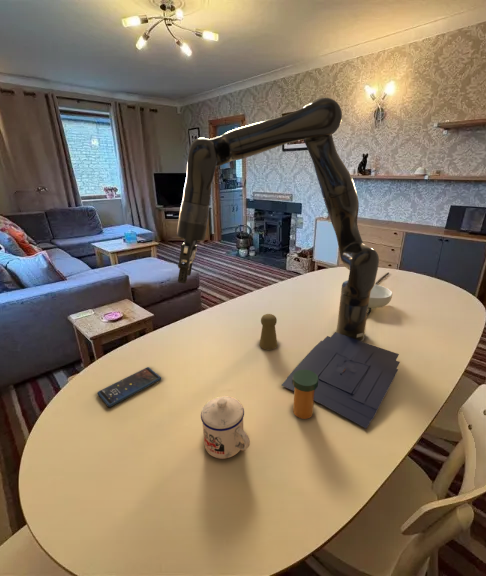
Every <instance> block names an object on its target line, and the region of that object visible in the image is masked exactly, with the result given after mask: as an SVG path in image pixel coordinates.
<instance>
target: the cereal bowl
mask: <svg viewBox="0 0 486 576" xmlns="http://www.w3.org/2000/svg"><path fill="white" fill-rule="evenodd" d="M392 298H393V291H392V290H391V289H390V288H388V287H386V286H383V285H380V284H377V285H376V283H375V284H374V287H373V288H372V290H371V293H370V299H369V306H368V310H369V308H371V310H376V309H379V308H383V307H385V306H387V305H389V304H390V302H391V301H392Z"/></svg>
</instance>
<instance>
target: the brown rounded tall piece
mask: <svg viewBox="0 0 486 576" xmlns="http://www.w3.org/2000/svg"><path fill="white" fill-rule="evenodd" d="M277 319H278V318H277V317H276V315H275V314H272V313H265V314H263V315H262V316H261V317H260V324H261V333H260V339H259V347H260V348H261V349H263V350H266V351H271V350H275V349H276V348H277V347H278V339H277V332H276V331H277V330H276V325H277V321H278V320H277Z"/></svg>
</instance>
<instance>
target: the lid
mask: <svg viewBox="0 0 486 576" xmlns="http://www.w3.org/2000/svg"><path fill="white" fill-rule="evenodd" d="M292 384H293V385H294V387H295V388H296V389H298V390H300V391H304V392H310V391H313V390H315V389H316V388H317V387H318V376H317V375H316V374H315V373H314V372H312V371H310V370H298V371H296V372H295V373H294V374H293V381H292Z"/></svg>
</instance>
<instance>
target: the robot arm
mask: <svg viewBox="0 0 486 576" xmlns="http://www.w3.org/2000/svg"><path fill="white" fill-rule="evenodd" d="M342 120H343V112H342V107H341V106H340V104H339V103H338V102H337V100H335V99H333V98H331V97H319V98H316V99H313V100H312V101H310V102H308V103H306V104H305V105H304V106H303V107H302V108H300V109H298V110H296V111H294V112H290V113H288V114H286V115H281V116H279V117H276V118H272V119H271V118H270V119H267V120H264V121H259V122H255V123H251V124H248V125H245V126H241V127H238V128H234V129H232V130H228V131H227V132H225V133H223V134H222V135H220V136H216V137H213V138H210V139H209V138H205V137H199V138H196V139H195V140H193V141H192V142H191V144H190V145H189V148H188V155H187V164H186V177H185V182H184V187H183V193H182V200H181V203H180V204H181V205H180V208H179V214H178V220H177V221H178V222H177V229H176V236H177V237H179V238H181V239H184V242H183V243H182V244H181V245H180V252H179V257H178V258H179V260H178V264H177V268H178V276H177V277H178V278H177V282H178V283H179V284H186V283H187V281H188V277H189V276H191V274H192V269H193V263H194V262H195V258H196V256H197V250H198V245H197V244H198V242H203V241H205V239H206V234H207V228H208V222H209V221H208V220H209V216H210V215H209V214H210V204H211V197H212V191H213V190H212V189H213V186H212V185H213V182H214V177H215V173H216V168H217V167H220V166H224V165H225V164H228V163H230V162H235V161H239V160H244V159H246V158H249V157H252V156H256V155H258V154H262V153H264V152H267V151H270V150H273V149H276V148H278V147H281V146H283V145H287V144H289V143H290V144H291V143H294V142H298V141H302V140H303V142H304V145H305V147H306V149H307V151H308V153H309V156H310V159H311V161H312V165H313V167H314V171H315V174H316V178H317V182H318V185H319V187H320V188H319V189H320V191H321V195H322V199H323V202H324V205H325V209H326V210H327V213H328V216H329V220H330V222H331V225H332V227H333V230H334V233H335V237H336V240H337V241H336V242H337V246H338V251H339V256H340V260H341V264H343V266H344V267H345V268H346V269H347V270H349V273H348V279H347V280H345V281H343V282H342V284H341V289H340V298H339V307H338V315H337V325H336V332H337V333H339V334H342V335H345V336H348V337H351V338H353V339H356V340H359V341H362V342H364V340H365V331H366V325H367V318H368V316H369V315H370V314H371V311H372V309H371V308H369V309H368V306H369V299H370V293H371V290H372V288H373V287H374V284H376V285H379V283H380V282H381V281H382V280H383V279H384V278H385V277H387V276H388V275H389V274H390V272H387V273H385V274H384V275H383V276H381V277H380V278H379V279H378V280H377V274H378V270H379V265H380V257H379V253H378V252H377V251H376V249H373V248H372V247H370V246H368V245H367V244H365V243H364V241H363V239H362V236H361V234H360V233H361V232H360V230H359V226H358V225H359V224H358V217H359V208H360V205H359V204H360V203H359V196H358V193H357V189H356V186H355V181H354V179H353V177H352V175H351V173H350V172H349V170H348V168H347V166H346V165H345V163H344V162H343V160H342V158H341V157H340V155H339V153H338V151H337V148H336V146H335V142H334V141H335V140H334V137H333V135H334V134H335V133H336V132H337V131H338V129H339V128H340V126H341V123H342ZM376 280H377V281H376Z"/></svg>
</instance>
